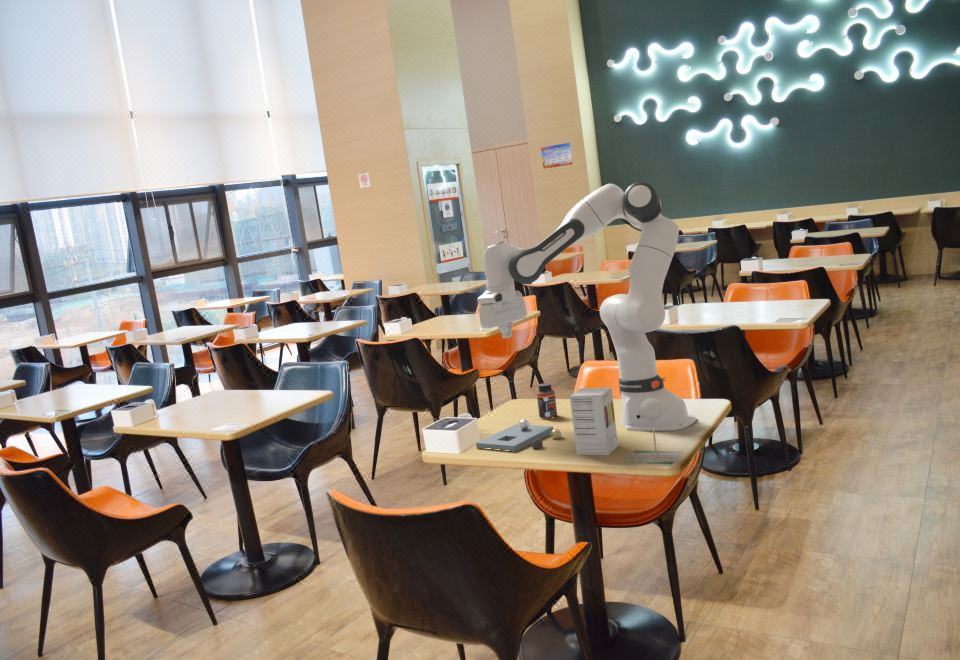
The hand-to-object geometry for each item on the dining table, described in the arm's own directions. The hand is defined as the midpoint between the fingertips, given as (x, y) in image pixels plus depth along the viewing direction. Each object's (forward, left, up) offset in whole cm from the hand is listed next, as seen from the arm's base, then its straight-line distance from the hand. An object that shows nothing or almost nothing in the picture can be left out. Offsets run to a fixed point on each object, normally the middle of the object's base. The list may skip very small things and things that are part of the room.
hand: (507, 337), depth 252 cm
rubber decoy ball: (-21, +20, -28) cm, 40 cm away
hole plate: (-10, +15, -29) cm, 34 cm away
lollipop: (-56, +16, -29) cm, 65 cm away
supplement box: (-39, +17, -29) cm, 52 cm away
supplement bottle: (-4, -11, -29) cm, 32 cm away
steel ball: (-10, +10, -25) cm, 29 cm away
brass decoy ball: (-21, +10, -28) cm, 36 cm away
